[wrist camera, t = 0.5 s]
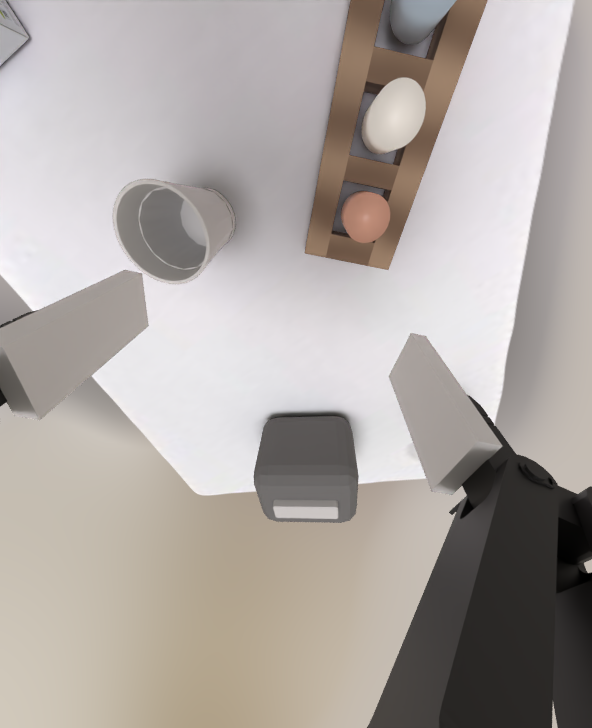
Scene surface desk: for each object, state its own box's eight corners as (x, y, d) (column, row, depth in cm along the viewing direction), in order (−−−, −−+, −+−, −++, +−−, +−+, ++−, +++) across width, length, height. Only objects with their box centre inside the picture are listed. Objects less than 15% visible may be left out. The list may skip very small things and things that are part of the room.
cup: (213, 162, 29) (159, 154, 19) (255, 233, 33) (228, 256, 23) (162, 204, 32) (91, 216, 22) (206, 265, 35) (163, 299, 25)
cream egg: (369, 90, 23) (381, 71, 19) (414, 101, 23) (435, 84, 19) (355, 149, 25) (363, 143, 21) (396, 158, 25) (411, 154, 21)
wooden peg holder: (368, -98, 19) (375, -137, 17) (497, -63, 20) (523, -97, 17) (305, 247, 33) (304, 253, 31) (383, 263, 34) (388, 269, 31)
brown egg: (346, 186, 27) (352, 188, 23) (385, 195, 27) (397, 198, 23) (336, 230, 29) (339, 238, 25) (372, 237, 29) (381, 246, 25)
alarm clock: (271, 449, 57) (258, 528, 44) (262, 411, 50) (244, 490, 37) (349, 448, 55) (359, 530, 42) (350, 408, 48) (362, 490, 36)
